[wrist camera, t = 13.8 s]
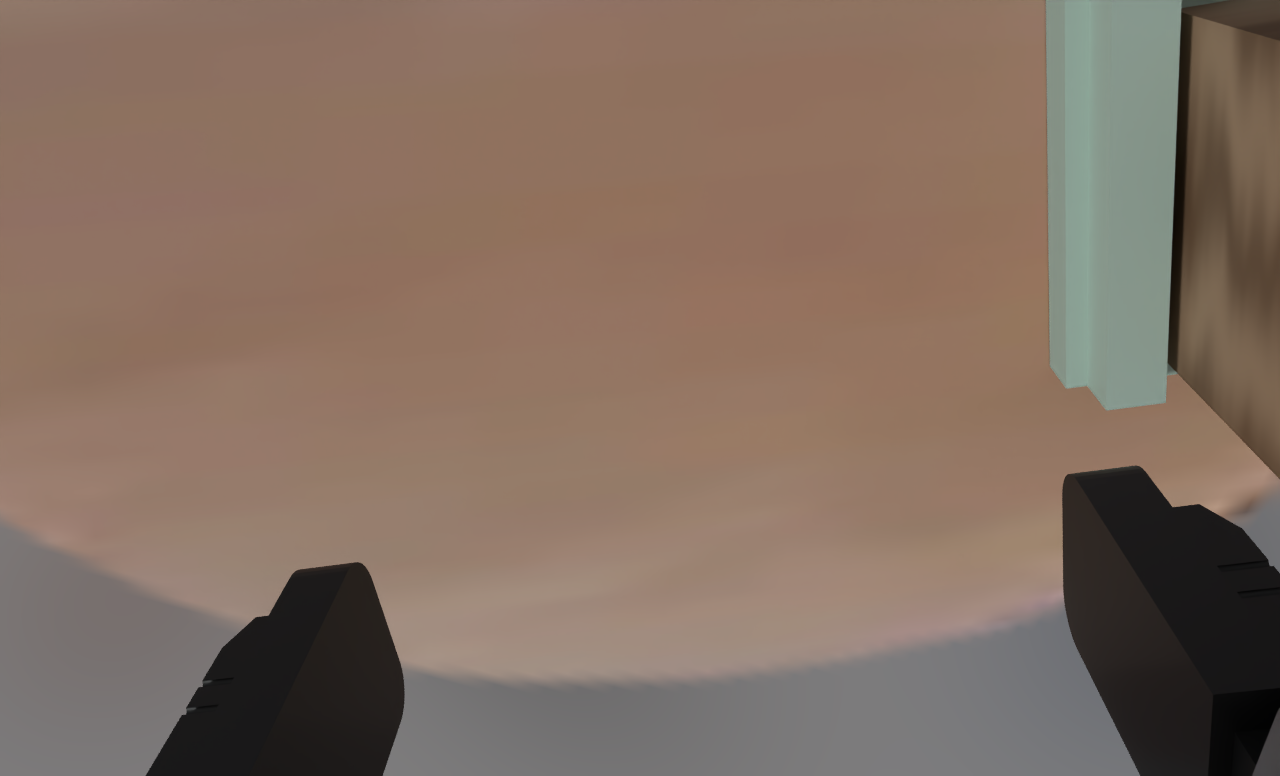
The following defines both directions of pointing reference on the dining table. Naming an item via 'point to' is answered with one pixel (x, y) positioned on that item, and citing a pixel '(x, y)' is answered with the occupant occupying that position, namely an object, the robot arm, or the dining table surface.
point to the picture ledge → (1112, 193)
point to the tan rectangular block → (1229, 218)
